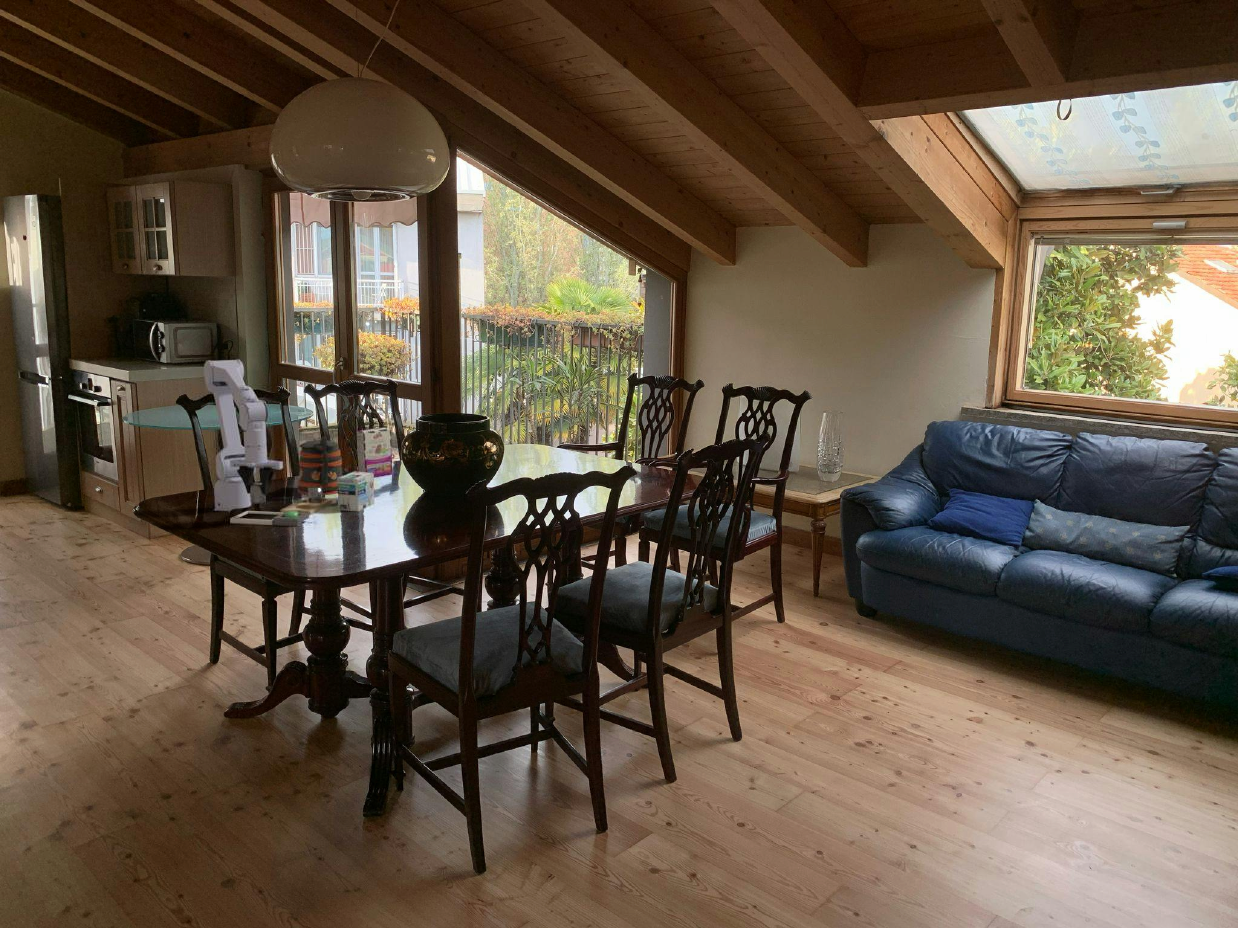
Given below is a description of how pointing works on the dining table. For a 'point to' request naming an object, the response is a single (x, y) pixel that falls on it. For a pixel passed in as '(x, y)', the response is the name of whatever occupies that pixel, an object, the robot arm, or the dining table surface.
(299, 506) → the pallet board
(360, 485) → the light bulb box
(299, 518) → the console
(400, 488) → the dining table surface
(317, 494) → the billet
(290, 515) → the button
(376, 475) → the candy bar box
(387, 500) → the dining table surface
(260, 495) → the billet
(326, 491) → the grey orange striped backpack
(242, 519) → the white rectangular frame
